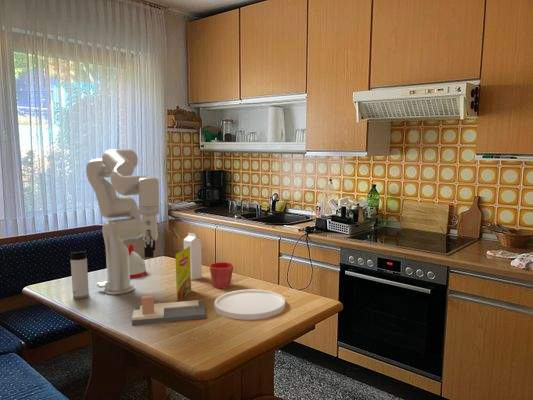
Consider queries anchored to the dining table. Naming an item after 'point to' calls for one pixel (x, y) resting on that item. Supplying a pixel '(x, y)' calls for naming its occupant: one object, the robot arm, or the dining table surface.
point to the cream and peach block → (148, 309)
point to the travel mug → (79, 275)
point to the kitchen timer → (136, 264)
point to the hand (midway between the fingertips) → (150, 253)
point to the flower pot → (221, 274)
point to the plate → (249, 304)
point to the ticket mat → (176, 312)
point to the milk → (194, 255)
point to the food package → (183, 273)
